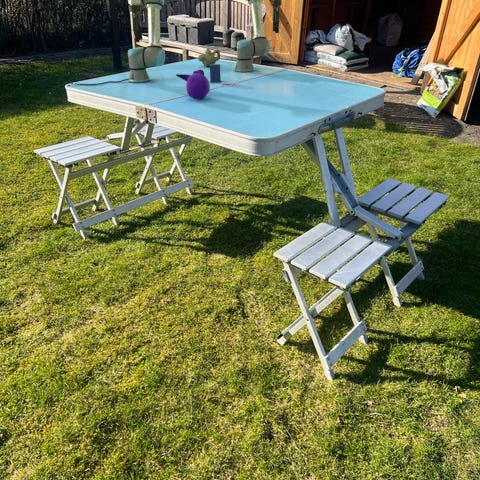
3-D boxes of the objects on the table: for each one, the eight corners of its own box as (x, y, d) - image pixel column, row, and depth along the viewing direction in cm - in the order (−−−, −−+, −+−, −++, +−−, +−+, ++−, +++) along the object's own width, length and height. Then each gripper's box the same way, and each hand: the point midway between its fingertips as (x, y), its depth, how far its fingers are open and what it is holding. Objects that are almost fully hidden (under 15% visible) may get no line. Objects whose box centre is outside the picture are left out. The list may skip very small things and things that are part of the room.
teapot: (201, 68, 381) (200, 49, 373) (195, 66, 389) (194, 48, 382) (223, 65, 390) (222, 47, 382) (217, 64, 399) (216, 45, 391)
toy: (198, 91, 303) (209, 105, 283) (173, 86, 296) (182, 100, 275) (203, 67, 295) (215, 79, 275) (177, 62, 288) (187, 74, 267)
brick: (220, 80, 335) (219, 63, 329) (220, 82, 331) (220, 64, 325) (210, 81, 334) (209, 64, 328) (210, 82, 330) (209, 65, 324)
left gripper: (131, 3, 293) (136, 38, 304) (125, 5, 272) (130, 43, 283) (143, 3, 294) (147, 38, 305) (137, 5, 272) (142, 43, 283)
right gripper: (269, -2, 329) (268, 30, 340) (273, 0, 307) (272, 34, 318) (279, -2, 329) (278, 30, 340) (284, 0, 308) (283, 33, 318)
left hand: (139, 41), depth 294 cm, fingers open, 13 cm apart
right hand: (275, 32), depth 329 cm, fingers open, 13 cm apart
